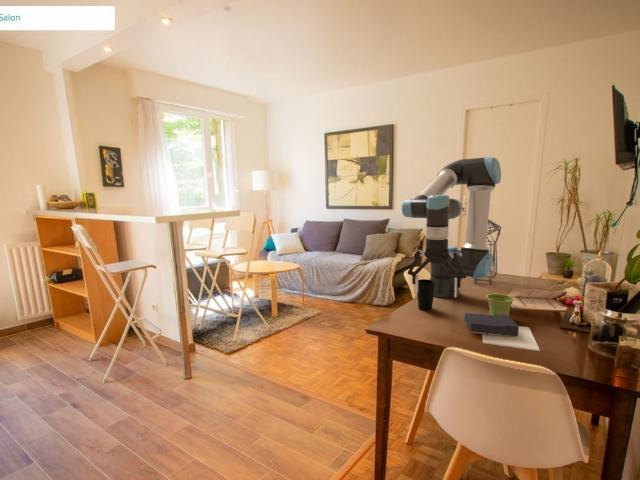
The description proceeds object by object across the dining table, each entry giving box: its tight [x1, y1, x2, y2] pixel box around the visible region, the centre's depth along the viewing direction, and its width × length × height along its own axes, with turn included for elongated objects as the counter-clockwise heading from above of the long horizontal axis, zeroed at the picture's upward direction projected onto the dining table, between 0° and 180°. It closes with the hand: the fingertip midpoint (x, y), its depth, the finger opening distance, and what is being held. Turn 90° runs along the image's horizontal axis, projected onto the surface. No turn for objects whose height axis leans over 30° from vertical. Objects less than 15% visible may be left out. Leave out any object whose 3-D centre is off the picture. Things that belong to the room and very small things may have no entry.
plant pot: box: [486, 293, 515, 317], centre depth 128 cm, size 9×9×9 cm
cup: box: [416, 278, 435, 312], centre depth 141 cm, size 8×8×12 cm
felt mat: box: [481, 325, 541, 352], centre depth 114 cm, size 18×16×1 cm
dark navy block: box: [464, 312, 520, 337], centre depth 118 cm, size 11×4×15 cm
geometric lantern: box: [471, 218, 502, 285], centre depth 176 cm, size 16×16×35 cm
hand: (435, 294), depth 122 cm, fingers open, 13 cm apart
